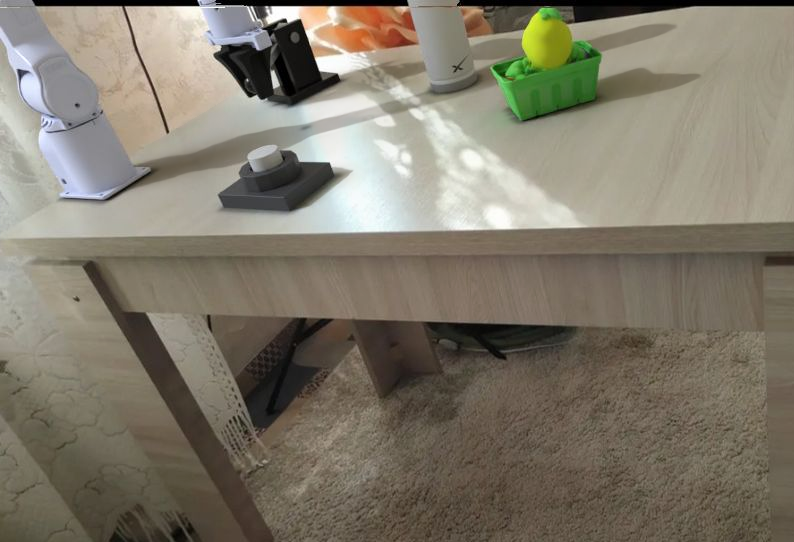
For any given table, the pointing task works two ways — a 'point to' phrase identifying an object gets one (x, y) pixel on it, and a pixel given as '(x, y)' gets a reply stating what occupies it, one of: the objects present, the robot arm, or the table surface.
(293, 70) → the black lever base
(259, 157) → the white push button
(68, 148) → the robot arm
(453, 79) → the travel mug
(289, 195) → the push button base
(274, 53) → the flush lever
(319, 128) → the table surface
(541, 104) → the fruit basket
